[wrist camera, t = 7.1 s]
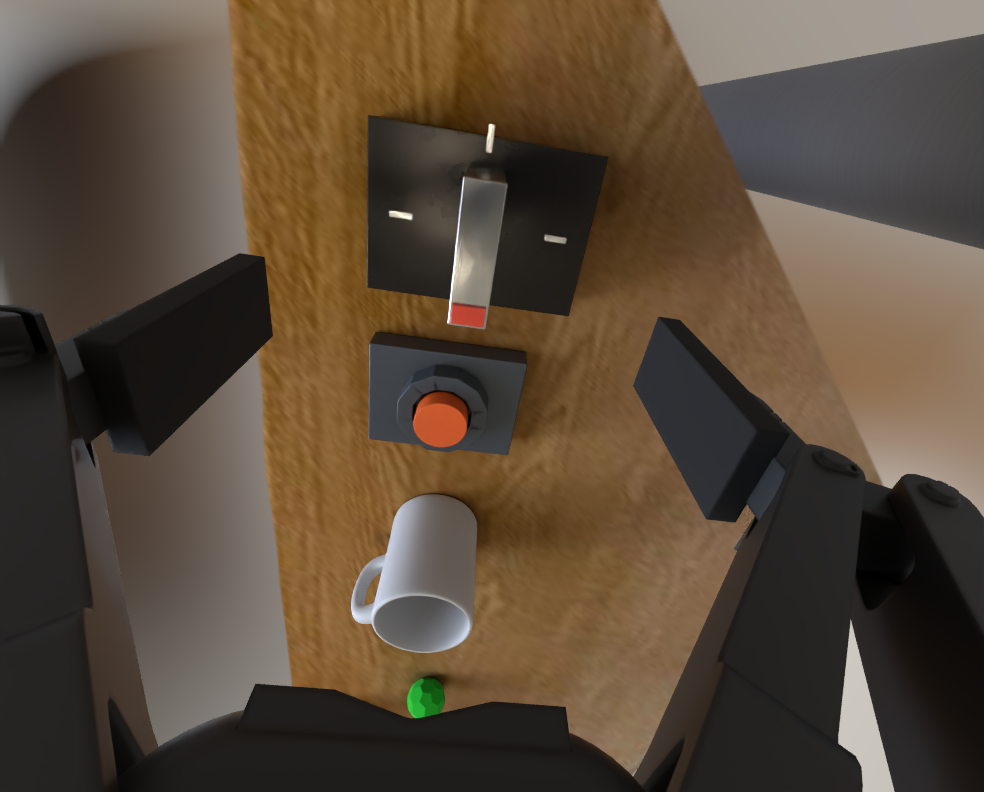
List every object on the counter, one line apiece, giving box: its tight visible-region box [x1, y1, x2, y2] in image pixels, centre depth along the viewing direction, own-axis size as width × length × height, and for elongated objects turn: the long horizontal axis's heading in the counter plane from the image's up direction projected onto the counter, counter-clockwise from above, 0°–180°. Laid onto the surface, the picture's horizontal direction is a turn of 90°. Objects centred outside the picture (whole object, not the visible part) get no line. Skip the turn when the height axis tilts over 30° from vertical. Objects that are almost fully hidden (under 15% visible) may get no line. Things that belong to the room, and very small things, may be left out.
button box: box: [369, 332, 527, 455], centre depth 36 cm, size 12×9×4 cm
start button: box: [413, 392, 468, 447], centre depth 34 cm, size 4×4×2 cm
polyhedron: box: [407, 677, 445, 718], centre depth 60 cm, size 5×5×5 cm
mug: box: [351, 494, 477, 653], centre depth 42 cm, size 12×8×11 cm
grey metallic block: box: [448, 163, 508, 329], centre depth 25 cm, size 7×2×8 cm, turn 172°
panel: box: [367, 115, 608, 316], centre depth 29 cm, size 14×11×3 cm
